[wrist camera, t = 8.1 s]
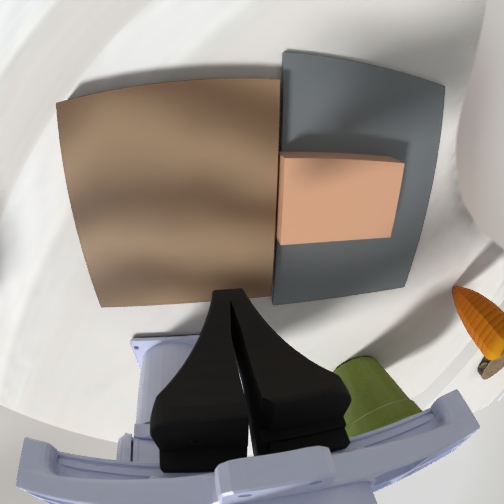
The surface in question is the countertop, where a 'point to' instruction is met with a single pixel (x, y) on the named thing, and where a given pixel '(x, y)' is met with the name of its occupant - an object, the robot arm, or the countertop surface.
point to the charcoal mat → (358, 142)
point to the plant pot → (372, 397)
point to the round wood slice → (490, 367)
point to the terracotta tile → (335, 196)
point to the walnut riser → (174, 188)
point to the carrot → (481, 321)
